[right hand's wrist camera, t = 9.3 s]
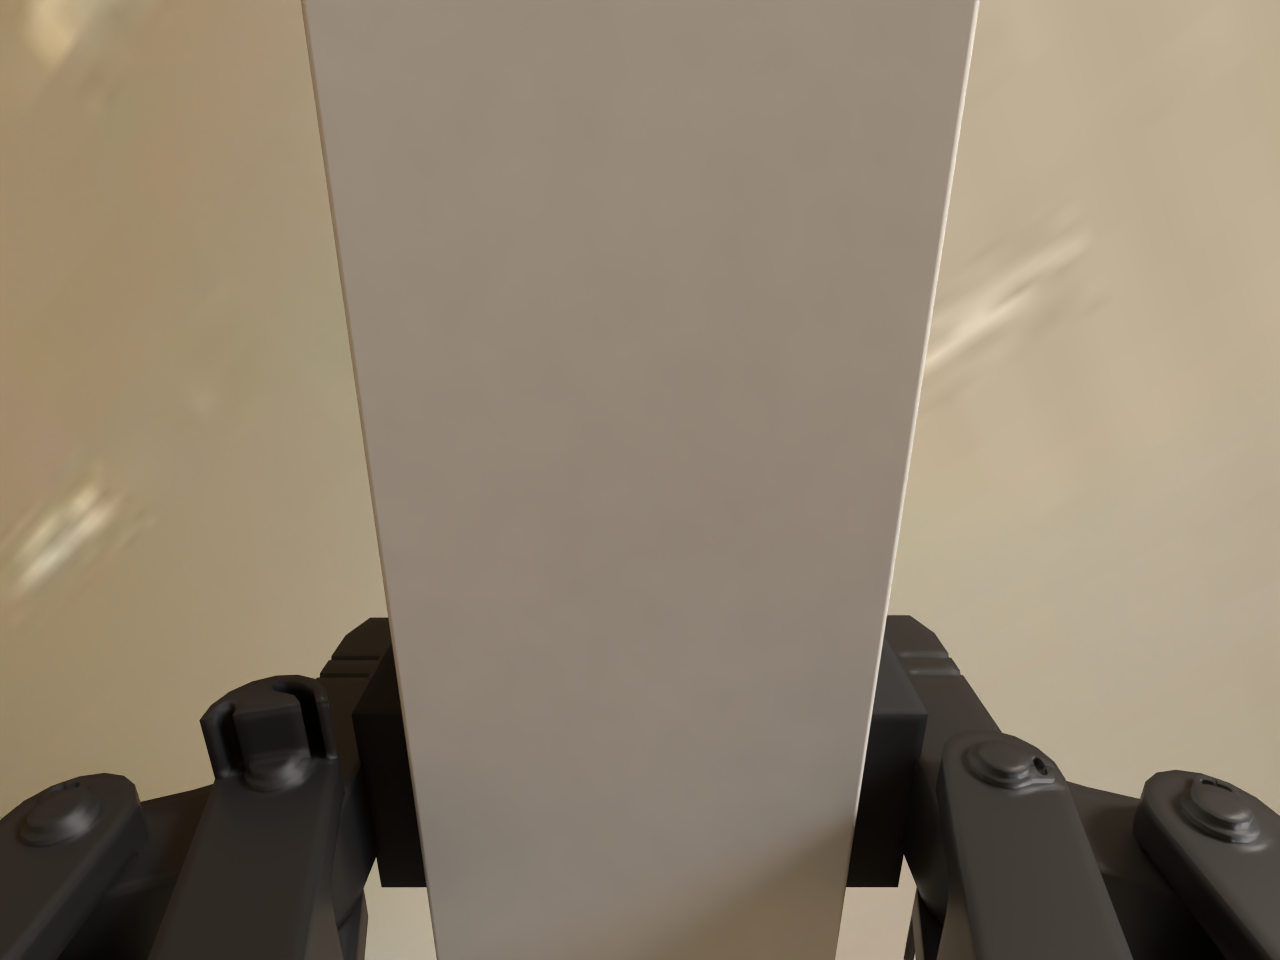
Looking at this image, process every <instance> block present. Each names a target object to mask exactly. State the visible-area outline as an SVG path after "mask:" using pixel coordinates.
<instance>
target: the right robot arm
mask: <svg viewBox="0 0 1280 960" xmlns="http://www.w3.org/2000/svg"><path fill="white" fill-rule="evenodd" d="M200 724H201V728H202V731H203V735H204V739H205V742H206V746H207V750H208V754H209V757H210V761H211V765H212V768H213V772H214V776H215V781H214V784H212V785H208V786H205V787H202V788H198V789H195V790H191V791H186V792H182V793H178V794H173V795H169V796H165V797H160V798H156V799H152V800H147V801H143V802H140V800H139V796H138V793H137V790H136V787H135V785H134V784H133V783H132V782H131V781H129V780H128V779H127V778H126V777H125V776H121V775H115V774H108V773H101V774H94V775H87V776H80V777H77V778H74V779H71V780H67V781H65V782H62V783H59V784H56V785H53V786H51V787H49V788H47V789H45V790H43V791H42V792H40V793H38V794H36V795H34V796H32V797H30V798H29V799H27V800H25V801H23V802H22V803H21V804H20V805H18V806H17V807H16V808H15V809H13V810H12V811H11V812H10V813H8V814H7V815H6V816H5V817H3V818H2V819H1V820H0V960H364V957H365V946H366V935H367V924H368V912H367V906H366V900H365V894H364V889H363V888H364V885H365V883H366V881H367V878H368V876H369V873H370V871H371V868H372V866H373V863H374V861H375V858H377V863H378V869H379V875H380V880H381V886H382V887H427V886H426V879H425V872H424V865H423V858H422V851H421V844H420V836H419V829H418V822H417V815H416V808H415V801H414V794H413V787H412V780H411V773H410V766H409V759H408V752H407V745H406V738H405V731H404V724H403V717H402V710H401V703H400V696H399V688H398V681H397V674H396V667H395V660H394V653H393V646H392V639H391V632H390V625H389V618H369V619H368V620H366V621H365V622H364V623H362V624H361V625H359V626H358V627H357V628H355V629H354V630H352V631H351V632H350V633H348V634H347V635H346V636H345V637H344V639H343V640H342V641H341V643H340V644H339V646H338V647H337V649H336V650H335V652H334V653H333V655H332V659H331V660H329V661H328V662H327V664H326V665H325V667H324V668H323V670H322V671H321V673H320V678H317V679H313V678H309V677H305V676H301V675H282V676H273V677H269V678H265V679H261V680H257V681H252V682H250V683H248V684H246V685H244V686H241V687H239V688H237V689H235V690H232V691H230V692H229V693H227V694H226V695H224V696H223V697H222V698H220V699H219V700H218V701H216V702H215V703H213V704H212V705H211V706H210V707H209V709H208V710H207V711H206V713H205V714H204V715H203V717H202V718H201V719H200ZM903 855H904V856H905V858H906V861H907V863H908V866H909V868H910V871H911V873H912V876H913V878H914V880H915V883H916V885H917V889H916V894H915V900H914V905H913V910H912V915H911V921H910V926H909V931H908V937H907V942H906V948H905V955H904V960H914V955H916V960H1280V816H1279V815H1278V814H1276V813H1275V812H1274V811H1273V810H1271V809H1270V808H1269V807H1268V806H1266V805H1265V804H1264V803H1263V802H1261V801H1260V800H1259V799H1257V798H1256V797H1254V796H1252V795H1250V794H1249V793H1247V792H1245V791H1243V790H1241V789H1239V788H1237V787H1236V786H1234V785H1232V784H1230V783H1228V782H1225V781H1222V780H1219V779H1216V778H1213V777H1210V776H1207V775H1204V774H1201V773H1194V772H1187V771H1180V770H1172V771H1165V772H1158V773H1156V774H1154V775H1153V776H1152V777H1151V778H1150V779H1148V780H1147V781H1146V782H1145V785H1144V788H1143V791H1142V795H1141V798H1140V799H1137V798H1133V797H1128V796H1124V795H1120V794H1115V793H1111V792H1106V791H1102V790H1098V789H1093V788H1089V787H1085V786H1082V785H1078V784H1075V783H1071V782H1068V781H1066V780H1065V778H1064V776H1063V775H1062V773H1061V772H1060V770H1059V768H1058V767H1057V765H1056V764H1055V762H1054V761H1052V760H1051V759H1050V758H1049V757H1048V756H1046V755H1045V754H1044V753H1043V752H1042V751H1040V750H1039V749H1038V748H1037V747H1035V746H1033V745H1031V744H1029V743H1027V742H1025V741H1023V740H1021V739H1019V738H1017V737H1015V736H1012V735H1008V734H1004V733H1002V732H1001V731H1000V729H999V728H998V726H997V725H996V723H995V722H994V720H993V719H992V717H991V716H990V714H989V713H988V711H987V710H986V708H985V707H984V705H983V704H982V703H981V701H980V700H979V698H978V697H977V695H976V694H975V692H974V691H973V689H972V688H971V686H970V685H969V683H968V682H967V680H966V679H965V677H964V676H963V675H960V670H959V669H958V667H957V666H956V664H955V663H954V661H953V660H952V658H949V657H948V652H947V651H946V649H945V648H944V647H943V645H942V644H941V642H940V641H939V639H938V638H937V636H936V635H935V633H933V632H932V631H931V630H929V629H928V628H926V627H925V626H924V625H922V624H921V623H920V622H918V621H917V620H915V619H914V618H913V617H911V616H910V615H887V618H886V625H885V631H884V638H883V644H882V651H881V658H880V664H879V671H878V678H877V684H876V691H875V697H874V704H873V711H872V717H871V724H870V731H869V737H868V744H867V750H866V757H865V764H864V770H863V777H862V784H861V790H860V797H859V803H858V810H857V817H856V823H855V830H854V837H853V843H852V850H851V856H850V863H849V870H848V876H847V883H846V887H898V883H899V878H900V872H901V866H902V861H903Z"/></svg>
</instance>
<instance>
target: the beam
mask: <svg viewBox="0 0 1280 960" xmlns="http://www.w3.org/2000/svg"><path fill="white" fill-rule="evenodd" d="M979 2H980V0H301V5H302V12H303V19H304V26H305V33H306V40H307V47H308V54H309V61H310V68H311V75H312V82H313V90H314V97H315V104H316V111H317V118H318V125H319V132H320V139H321V146H322V153H323V160H324V167H325V174H326V181H327V188H328V195H329V202H330V209H331V216H332V223H333V230H334V238H335V245H336V252H337V259H338V266H339V273H340V280H341V287H342V294H343V301H344V308H345V315H346V322H347V329H348V336H349V343H350V350H351V357H352V364H353V371H354V378H355V385H356V393H357V400H358V407H359V414H360V421H361V428H362V435H363V442H364V449H365V456H366V463H367V470H368V477H369V484H370V491H371V498H372V505H373V512H374V519H375V526H376V533H377V540H378V548H379V555H380V562H381V569H382V576H383V583H384V590H385V597H386V604H387V611H388V618H389V625H390V632H391V639H392V646H393V653H394V660H395V667H396V674H397V681H398V688H399V696H400V703H401V710H402V717H403V724H404V731H405V738H406V745H407V752H408V759H409V766H410V773H411V780H412V787H413V794H414V801H415V808H416V815H417V822H418V829H419V836H420V844H421V851H422V858H423V865H424V872H425V879H426V886H427V893H428V900H429V907H430V914H431V921H432V928H433V935H434V942H435V949H436V956H437V960H835V956H836V949H837V942H838V936H839V929H840V923H841V916H842V909H843V903H844V896H845V890H846V883H847V876H848V870H849V863H850V856H851V850H852V843H853V837H854V830H855V823H856V817H857V810H858V803H859V797H860V790H861V784H862V777H863V770H864V764H865V757H866V750H867V744H868V737H869V731H870V724H871V717H872V711H873V704H874V697H875V691H876V684H877V678H878V671H879V664H880V658H881V651H882V644H883V638H884V631H885V625H886V618H887V611H888V605H889V598H890V592H891V585H892V578H893V572H894V565H895V558H896V552H897V545H898V539H899V532H900V525H901V519H902V512H903V505H904V499H905V492H906V486H907V479H908V472H909V466H910V459H911V452H912V446H913V439H914V433H915V426H916V419H917V413H918V406H919V399H920V393H921V386H922V380H923V373H924V366H925V360H926V353H927V346H928V340H929V333H930V327H931V320H932V313H933V307H934V300H935V294H936V287H937V280H938V274H939V267H940V260H941V254H942V247H943V241H944V234H945V227H946V221H947V214H948V207H949V201H950V194H951V188H952V181H953V174H954V168H955V161H956V154H957V148H958V141H959V135H960V128H961V121H962V115H963V108H964V101H965V95H966V88H967V82H968V75H969V68H970V62H971V55H972V48H973V42H974V35H975V29H976V22H977V15H978V9H979Z"/></svg>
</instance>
